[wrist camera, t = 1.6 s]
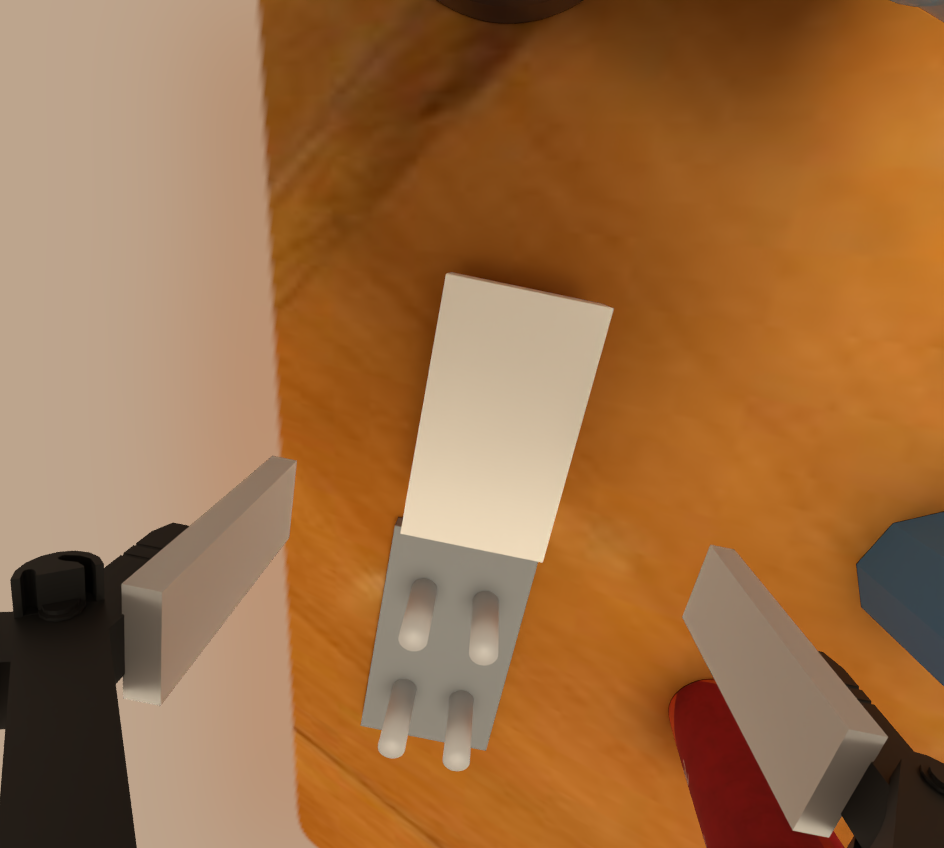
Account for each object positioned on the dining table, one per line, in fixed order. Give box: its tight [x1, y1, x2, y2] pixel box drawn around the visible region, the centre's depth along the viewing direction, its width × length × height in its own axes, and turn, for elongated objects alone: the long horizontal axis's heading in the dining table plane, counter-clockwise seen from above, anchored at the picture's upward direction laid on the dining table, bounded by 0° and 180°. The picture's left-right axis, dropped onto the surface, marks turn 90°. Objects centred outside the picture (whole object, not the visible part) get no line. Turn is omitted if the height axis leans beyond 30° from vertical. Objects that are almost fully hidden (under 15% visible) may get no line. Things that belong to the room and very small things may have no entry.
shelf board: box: [400, 272, 614, 563], centre depth 27 cm, size 14×8×3 cm, turn 169°
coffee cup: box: [669, 679, 844, 848], centre depth 32 cm, size 8×8×15 cm
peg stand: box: [361, 517, 538, 771], centre depth 36 cm, size 18×10×6 cm, turn 169°
